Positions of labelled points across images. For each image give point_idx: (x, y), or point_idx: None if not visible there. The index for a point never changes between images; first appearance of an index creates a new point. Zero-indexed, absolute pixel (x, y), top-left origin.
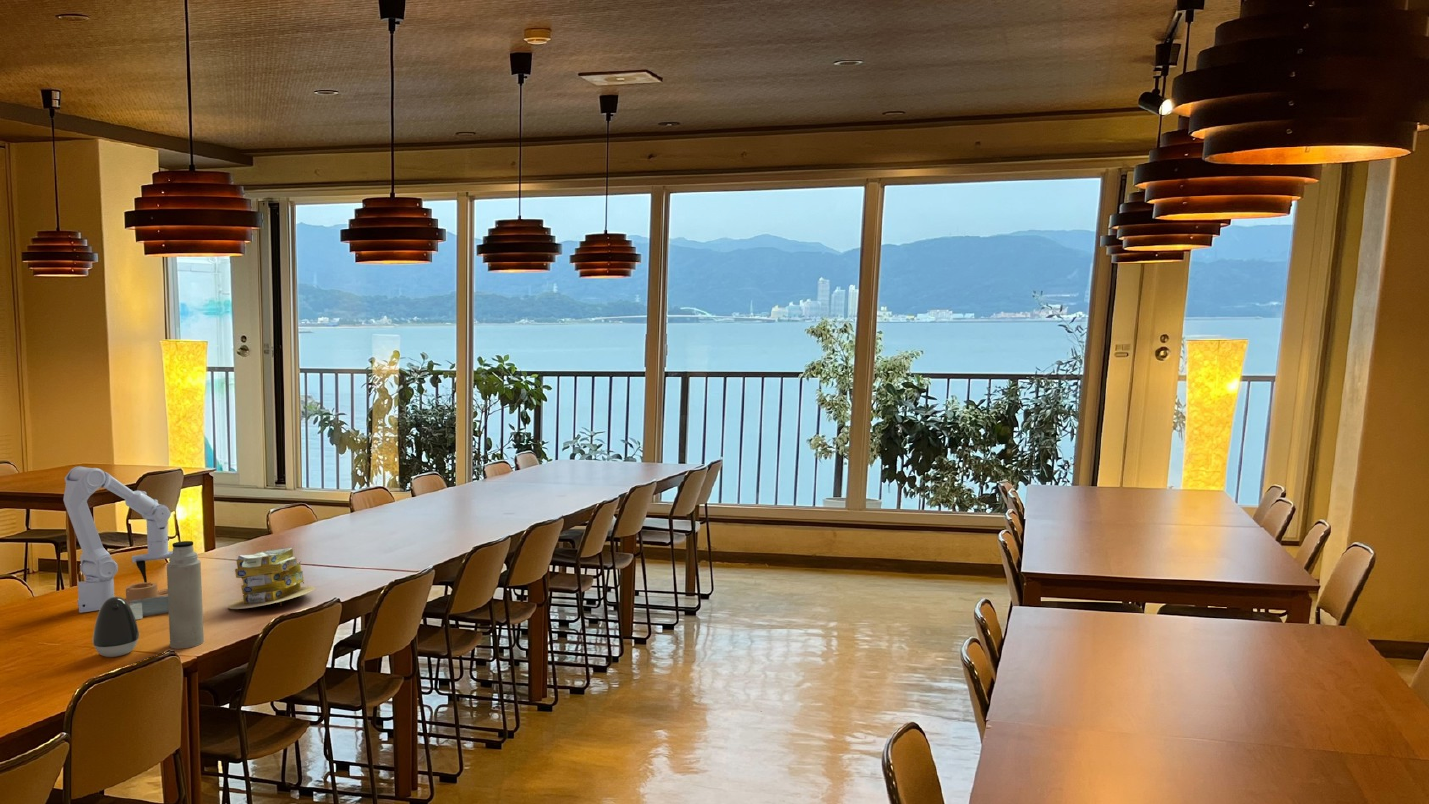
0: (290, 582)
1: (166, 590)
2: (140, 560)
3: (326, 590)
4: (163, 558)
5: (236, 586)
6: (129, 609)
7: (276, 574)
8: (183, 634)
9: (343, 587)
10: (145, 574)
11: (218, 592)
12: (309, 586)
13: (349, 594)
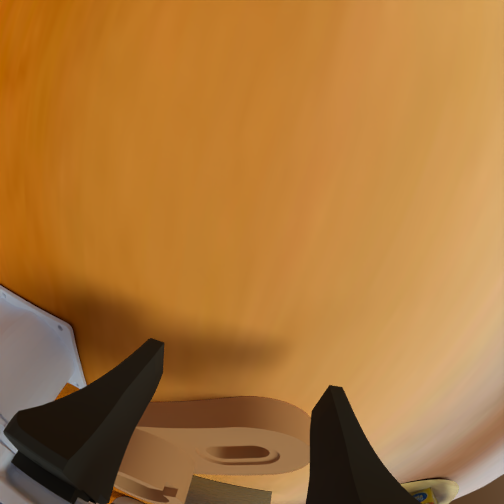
0: None
1: (243, 443)
2: (52, 493)
3: (473, 480)
4: None
5: (481, 407)
6: None
7: None
8: None
9: (492, 473)
10: (131, 430)
11: (404, 440)
12: (449, 500)
13: (457, 496)
